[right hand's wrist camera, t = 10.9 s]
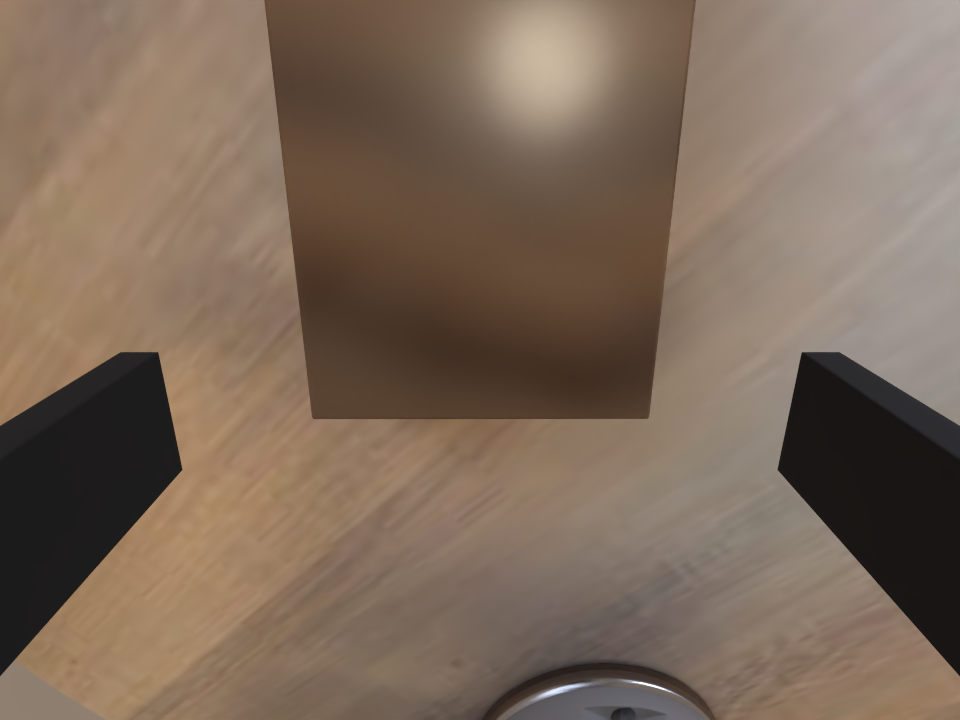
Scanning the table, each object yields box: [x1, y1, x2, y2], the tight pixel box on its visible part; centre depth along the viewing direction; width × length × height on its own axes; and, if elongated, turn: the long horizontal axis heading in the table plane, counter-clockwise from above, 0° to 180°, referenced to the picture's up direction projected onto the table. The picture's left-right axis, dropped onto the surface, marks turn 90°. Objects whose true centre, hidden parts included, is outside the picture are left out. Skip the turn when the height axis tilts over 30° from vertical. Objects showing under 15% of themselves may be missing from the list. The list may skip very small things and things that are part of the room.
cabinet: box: [265, 0, 696, 419], centre depth 20 cm, size 18×11×8 cm, turn 0°
